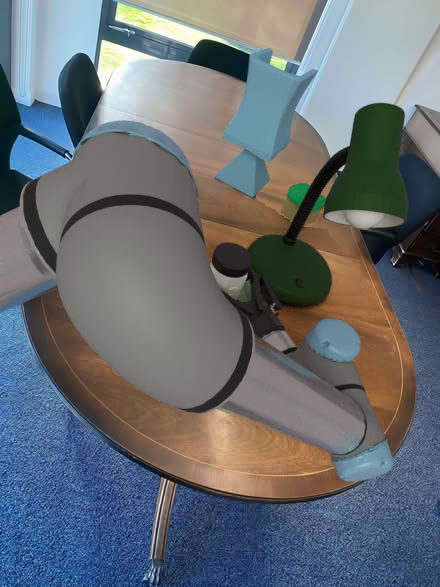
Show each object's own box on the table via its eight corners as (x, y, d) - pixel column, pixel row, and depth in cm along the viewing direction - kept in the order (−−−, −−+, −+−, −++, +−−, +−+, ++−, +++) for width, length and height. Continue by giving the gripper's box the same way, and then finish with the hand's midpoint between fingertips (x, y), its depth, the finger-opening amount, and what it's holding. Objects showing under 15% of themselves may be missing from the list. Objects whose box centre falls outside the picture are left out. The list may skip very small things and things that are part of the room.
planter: (272, 181, 129) (318, 70, 104) (254, 200, 118) (301, 81, 94) (232, 160, 132) (268, 47, 107) (211, 177, 121) (245, 55, 96)
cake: (292, 202, 124) (306, 175, 117) (318, 221, 120) (333, 194, 113) (274, 209, 118) (287, 181, 111) (300, 230, 114) (315, 202, 107)
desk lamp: (345, 341, 89) (496, 167, 57) (252, 329, 83) (361, 131, 52) (316, 251, 109) (415, 87, 77) (240, 237, 104) (313, 55, 72)
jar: (207, 311, 83) (222, 272, 74) (193, 283, 87) (206, 243, 79) (243, 304, 87) (261, 267, 78) (228, 278, 91) (243, 240, 83)
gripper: (215, 366, 71) (168, 279, 82) (303, 338, 81) (251, 264, 93) (226, 343, 65) (174, 253, 77) (319, 316, 76) (262, 240, 87)
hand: (216, 259), depth 85 cm, fingers closed on jar, 9 cm apart
